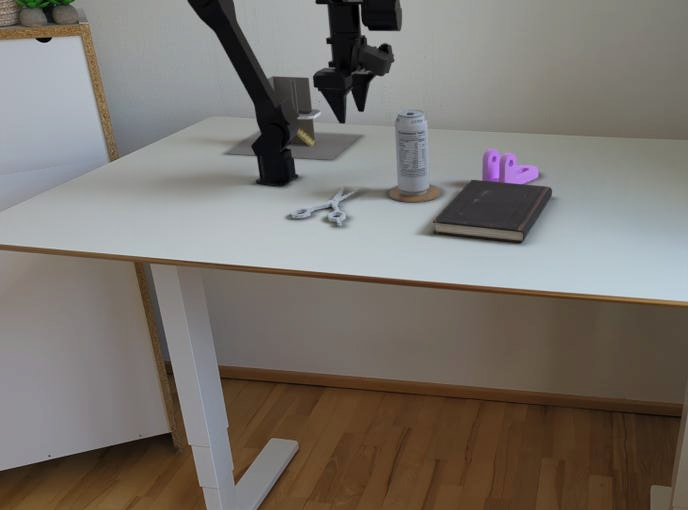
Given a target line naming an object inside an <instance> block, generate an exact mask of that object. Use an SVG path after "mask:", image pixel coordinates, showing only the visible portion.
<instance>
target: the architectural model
mask: <svg viewBox="0 0 688 510" xmlns="http://www.w3.org/2000/svg"><path fill="white" fill-rule="evenodd" d="M267 79H268V81H269V83H270V85H271V87H272V88H273V90H274V92H275V93H276V95H277V96H279V97H280V98H281V99H282V100H283V101H284V100H286V99H287V98H290V100H291V102H292V105H293V108H294V110H295V111H296V113H297V114H298V115H299V117H298V118H297V119H298V121H299V130H298V133H297V134H296V136H295V137H294V138H292V141H291V144H290V145H289V146H288V147H287V148H288V149H291V153H292V157H293V158H294V159H312V160H330V161H332V160H334V159H335V158H336V157H337V156H339V154H341V153H342V152H343V151H344V150H345V149H347V148H348V147H349V146H350V145H351V144H352V143H354V142H355V141H356V140H357V139H359V138H360V135H357V134H356V135H355V134H336V133H335V134H333V133H315V125H314V119H316V118H319V116H321V115H322V113H321V112H322V111H321V110H319V109H314V108H313V106H312V96H311V88H310V87H311V85H310V77H304V76H303V77H299V76H274V75H273V76H270V77H268V78H267ZM260 135H261V132H260V131H259V132H258V133H256V134H255V135H253V136H252V137H250V138H248V139H247V140H245V141H244V142H242V143H240V144H238V145H237V146H236V147H234V148H233V149H231V150H229V151H228V152H226V153H225V154H226V155H242V156H256V155H255V154H254V152H253V150H252V148H251V145H252V144H253V143H254V142H255V141H256V140H257V138H258V137H259V136H260Z"/></svg>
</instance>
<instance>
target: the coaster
mask: <svg viewBox="0 0 688 510" xmlns="http://www.w3.org/2000/svg"><path fill="white" fill-rule="evenodd" d="M388 196H389V197H390V198H391V199H392V200H395V201H398V202H403V203H424V202H430V201H432V200H436V199H437V198H438V197H440V196H441V189H440V188H439V187H438V186H435V185H433V184H429V188H428V189H427V192H426V193H424V194H422V195H416V196H410V195H405V194H403V193H401V190H400V189H399V188H398V185H396V186H394V187H392V188H390V190H389V191H388Z"/></svg>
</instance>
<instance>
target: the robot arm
mask: <svg viewBox="0 0 688 510" xmlns="http://www.w3.org/2000/svg"><path fill="white" fill-rule="evenodd" d="M186 1H187V3H188V5H189V6H190V7H191V8H192V10H193V11H194V12H195V14H196V15H197V16H198V18H199V19H200V20H201V21H202V22H203V23H204V24H205V25H206V26H207V27H209V29H210V30H212V31H213V33H214V34H215V36H216V37H217V39H218V41H219V43H220V44H221V47H222V49H223V51H224V52H225V54H226V56H227V57H228V59H229V61H230V63H231V65H232V67H233V68H234V71H235V72H236V74H237V76H238V78H239V80H240V81H241V84H242V85H243V87H244V89H245V91H246V92H247V94H248V96H249V98H250V100H251V102H252V103H253V106H254V107H253V108H254V111H255V112H254V113H255V119H256V124H257V127H258V130H259V133H260V132H261V135H260V136H259V137H258V138H257V140H256V141H255V142H254V143H253V144H252V145H251V148H252V150H253V152H254V154H255V155H254V156H256V161H257V169H258V175H259V178H257V179H255V183H256V184H261V185H269V186H278V187H284V186H286V185H288V184H290V183H291V182H293V181H295V180H296V179H298V178H299V174H297V173H296V164H295V158H293V157H292V153H291V149H288V148H287V147H288V146H289V145H290V144H291V141H292V138H294V137H295V136H296V134H297V133H298V130H299V121H298V119H297V118H298V117H299V115H298V114H297V113H296V111H295V110H294V108H293V105H292V102H291V100H290V98H287V99H286V100H284V101H283V100H282V99H281V98H280V97H279V96H277V95H276V93H275V92H274V90H273V88H272V87H271V85H270V83H269V81H268V78H267V75H266V74H265V72H264V69H263V68H262V66H261V64H260V62H259V60H258V58H257V57H256V54H255V53H254V50H253V49H252V46H251V44H250V43H249V42H248V40H247V37H246V36H245V34H244V32H243V30H242V28H241V26H240V25H239V23H238V19H237V14H236V6H235V2H234V0H186ZM314 2H315V3H314V4H316V5H325V6H326V7H327V8H326V9H327V17H328V18H327V19H328V28H329V29H328V31H329V36H328V37H326V38H325V41H326V45H330V51H331V60H329V61H327V64H328V65H327V66H328V67H324V68H321V69H319V70H317V71H316V72H315V73H314V74H313V75H312V83H313V88H315V89H317V91H318V92H320V93H321V95H322V96H323V98H324V99H325V101H326V102H327V104H328V106H329V107H330V110H331V111H332V112H333V114H334V117H335V118H336V120H337V122H338V123H339V125H341V124H342V125H345V124H346V121H347V120H346V119H347V104H348V103H347V99H348V98H347V97H348V95H349V94H350V92H351V95H352V98H353V101H354V103H355V107H356V109H357V112H358V113H364V112H365V108H366V103H367V100H368V94H369V88H370V84H371V82H372V81H373V80H374V79H375V78H376V77H384V76H385V75H386V74H389V73H390V71H391V67H392V64H393V63H395V61H396V60H395V58H394V57H395V54H394V53H393V46H392V45H391V44H389V43H387V42H384V43H381V44H380V45H379V46H378V47H377V46H376V45H374V46H372V45H369V44H368V38H367V37H366V34H365V35H364V34H362V26H364V27H366V28H367V30H368V31H369V32H401V30H402V26H403V8H402V7H401V0H314ZM361 23H362V24H361ZM361 25H362V26H361Z"/></svg>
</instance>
